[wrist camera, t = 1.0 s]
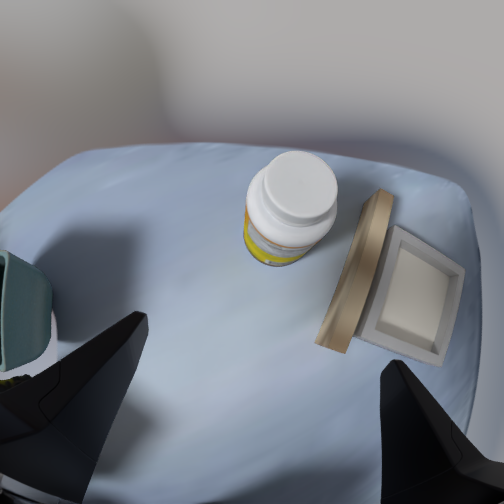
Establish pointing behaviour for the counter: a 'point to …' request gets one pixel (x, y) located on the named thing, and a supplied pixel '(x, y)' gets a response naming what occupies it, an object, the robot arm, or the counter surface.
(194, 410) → the counter surface
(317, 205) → the supplement bottle
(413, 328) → the square tray
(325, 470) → the counter surface
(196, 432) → the counter surface
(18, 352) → the flower pot
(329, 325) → the oak sill
